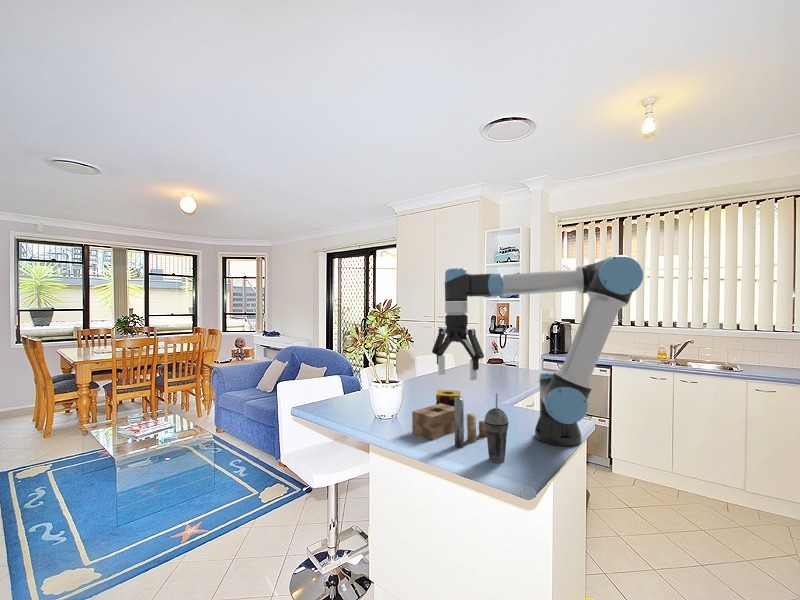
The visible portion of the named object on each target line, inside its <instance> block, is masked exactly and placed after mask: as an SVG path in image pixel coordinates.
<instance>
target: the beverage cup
mask: <svg viewBox="0 0 800 600" xmlns="http://www.w3.org/2000/svg"><path fill="white" fill-rule="evenodd" d="M484 416H485V417H484V420H483V421H484V422H485V427H486V432H487V437H486V440H487V441H486V442H487V450H488V451H487V453H488V458H489V459H488V460H489V461H490V462H491V463H494V464H503V463H504V462H505V458H506V450H507V449H506V447H507V435H508V429H509V424H510V423H509V419H508V416H507V414H506V413H505V411H504V410H503V409H500V408H498V393H495V407H494V408H491V409H489V410H488V411H487V412H486V414H485V415H484Z"/></svg>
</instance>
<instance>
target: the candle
mask: <svg viewBox="0 0 800 600" xmlns="http://www.w3.org/2000/svg"><path fill="white" fill-rule="evenodd" d="M455 397H461V390H454V389H453V390H451V389H450V390H449V389H447V390H444V389H443V390H442V389H437V393H436V394H435V400H436V403H435V405H437V404H440V403H441V404H445V405H450V406H454V398H455Z"/></svg>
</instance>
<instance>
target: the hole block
mask: <svg viewBox="0 0 800 600" xmlns="http://www.w3.org/2000/svg"><path fill="white" fill-rule="evenodd" d="M411 413H412V414H411V415H412V417H411V419H412V425H411V426H412V432H411V433H412V434H414V435H416V436H420V437H423V438H426V439H429V440H431V441H434V440H438V439H439V438H442V437H445V436H447V435H450V434H452V433H455V408H454V406H450V405H445V404H441V403H440V404H437V405H436V404H434V405H429V406H427V407H423V408H419V409H416V410H413V411H412V412H411Z"/></svg>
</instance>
